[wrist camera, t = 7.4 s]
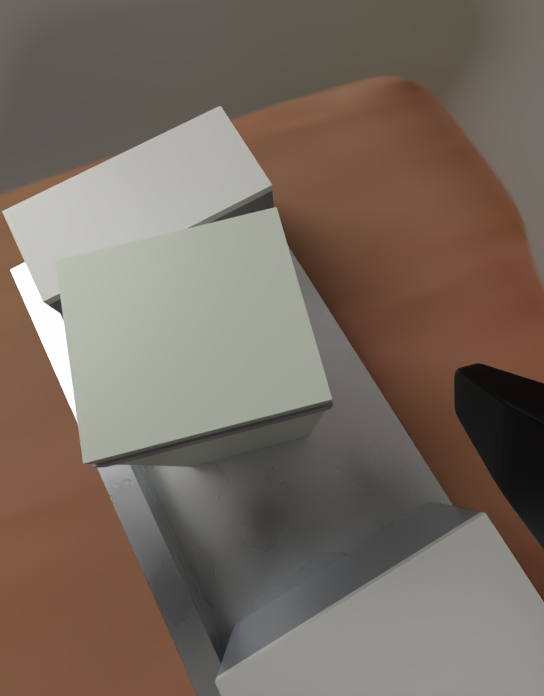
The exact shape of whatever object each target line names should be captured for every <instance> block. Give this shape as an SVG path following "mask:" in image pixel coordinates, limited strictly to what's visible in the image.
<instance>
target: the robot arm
mask: <svg viewBox="0 0 544 696" xmlns="http://www.w3.org/2000/svg"><path fill="white" fill-rule="evenodd" d="M454 396H455V411H456V414H457V416H458V419H459V420H460V422H461V424H462V426H463V427H464V429H465V431H466V433H467V434H468V436H469V438H470V439H471V441H472V443H473V445H474V446H475V448H476V450H477V452H478V453H479V455H480V457H481V458H482V460H483V462H484V464H485V465H486V467H487V469H488V471H489V472H490V474H491V476H492V478H493V479H494V481H495V482H496V484H497V486H498V487H499V489H500V490H501V492H502V493H503V495H504V496H505V498H506V499H507V500H508V502H509V503H510V505H511V506H512V507H513V509H514V510H515V511H516V513H517V514H518V515H519V517H520V518H521V520H522V521H523V522H524V524H525V525H526V526H527V528H528V529H529V530H530V532H531V533H532V535H533V536H534V537H535V539H536V540H537V541H538V543H539V544H540V545H541V547H542V548H543V550H544V383H540V382H537V381H534V380H531V379H528V378H525V377H521V376H518V375H515V374H512V373H509V372H506V371H503V370H499V369H496V368H493V367H490V366H487V365H484V364H479V363H477V364H473V365H469V366H465V367H461V368H458V369H457V370H456V372H455V376H454Z"/></svg>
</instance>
